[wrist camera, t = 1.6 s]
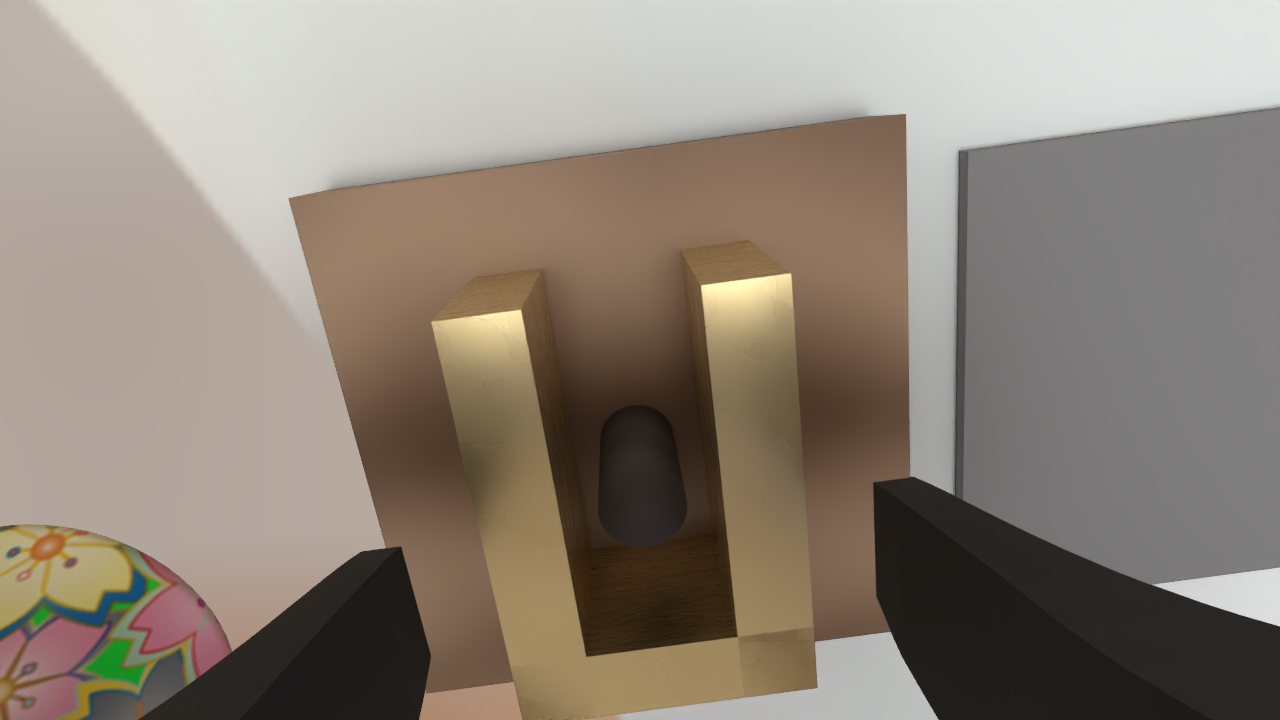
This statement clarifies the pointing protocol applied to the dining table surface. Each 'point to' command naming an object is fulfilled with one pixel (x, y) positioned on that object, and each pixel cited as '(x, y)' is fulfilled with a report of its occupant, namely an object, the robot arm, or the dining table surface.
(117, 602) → the mug
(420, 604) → the peg stand
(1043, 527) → the mat
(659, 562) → the u link
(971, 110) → the dining table surface
